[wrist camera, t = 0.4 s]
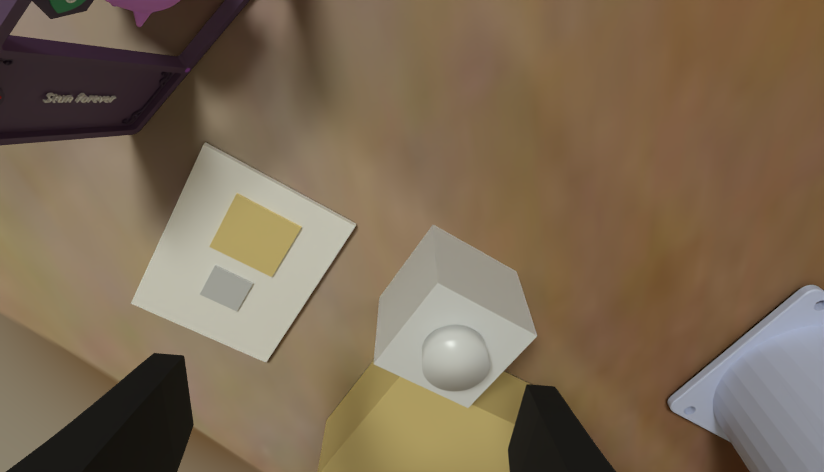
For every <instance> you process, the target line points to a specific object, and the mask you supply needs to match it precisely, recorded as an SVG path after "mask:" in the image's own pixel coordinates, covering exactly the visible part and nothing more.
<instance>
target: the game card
mask: <svg viewBox="0 0 824 472" xmlns="http://www.w3.org/2000/svg"><path fill="white" fill-rule="evenodd" d="M31 1H33V2H34V3H35V4H36V5H37V6H38V7H39V8H40V9H41V10H42V11H43V12H44V13H45V14H46V15H47V16H48V17H49V18H50V19H53V18H58V17H62V16H66V15H71V14H75V13H79V12H83V11H87V9H88V8H89V6H90V5H91V4H92V2H93V1H94V0H0V145H10V144H22V143H35V142H47V141H59V140H72V139H84V138H97V137H109V136H122V135H133V134H136V133H137V132H139V131H140V130H141V129H142V128H143V126H144V125H145V124H146V123H147V122H148V121H149V119H150V118H151V117H152V116H153V115H154V113H155V112H156V111H157V110H158V109H159V107H160V106H161V105H162V104H163V103H164V102H165V100H166V99H167V98H168V97H169V96H170V94H171V93H172V92H173V91H174V90H175V88H176V87H177V86H178V85H179V84H180V82H181V81H182V80H183V79H184V78H185V77H186V75H187V74H188V73H189V72H190V71H191V69H192V68H193V67H194V66H195V65H196V63H197V62H198V61H199V60H200V59H201V58H202V56H203V55H204V54H205V53H206V52H207V50H208V49H209V48H210V47H211V46H212V44H213V43H214V42H215V41H216V40H217V39H218V37H219V36H220V35H221V34H222V33H223V31H224V30H225V29H226V28H227V27H228V25H229V24H230V23H231V22H232V21H233V19H234V18H235V17H236V16H237V15H238V14H239V12H240V11H241V10H242V9H243V8H244V6H245V5H246V4H247V3H248V2H249V0H225V1H224V2H223V3H222V5H221V6H220V7H219V8H218V9H217V11H216V12H215V13H214V14H213V15H212V17H211V18H210V19H209V20H208V22H207V23H206V24H205V25H204V26H203V28H202V29H201V30H200V31H199V33H198V34H197V35H196V36H195V37H194V39H193V40H192V41H191V42H190V44H189V45H188V46H187V47H186V48H185V50H184V51H183V52H182V53H181V54H180V55H179V56H169V55H161V54H153V53H145V52H137V51H130V50H122V49H114V48H106V47H98V46H90V45H83V44H75V43H67V42H59V41H51V40H43V39H36V38H28V37H20V36H12V35H9V34H10V33H11V31H12V30H13V28H14V27H15V25H16V24H17V22H18V21H19V19H20V18H21V16H22V15H23V13H24V12H25V10H26V9H27V7H28V6H29V4H30V3H31ZM106 1H107V2H109V3H111V5H112V6H118V7H121V8H124V9H127V10H131V11H133V12H134V17H135V21H136V25H137V26H138V27H141V26H142V25H143V24H144V22H145V21H146V20H147V18H148V17H149V16H150V14H151V13H152V12H157V11H161V10H164V9H167V8H170V7H172V6H174V5H175V4H177V3H178V2H179V1H180V0H106Z"/></svg>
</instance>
